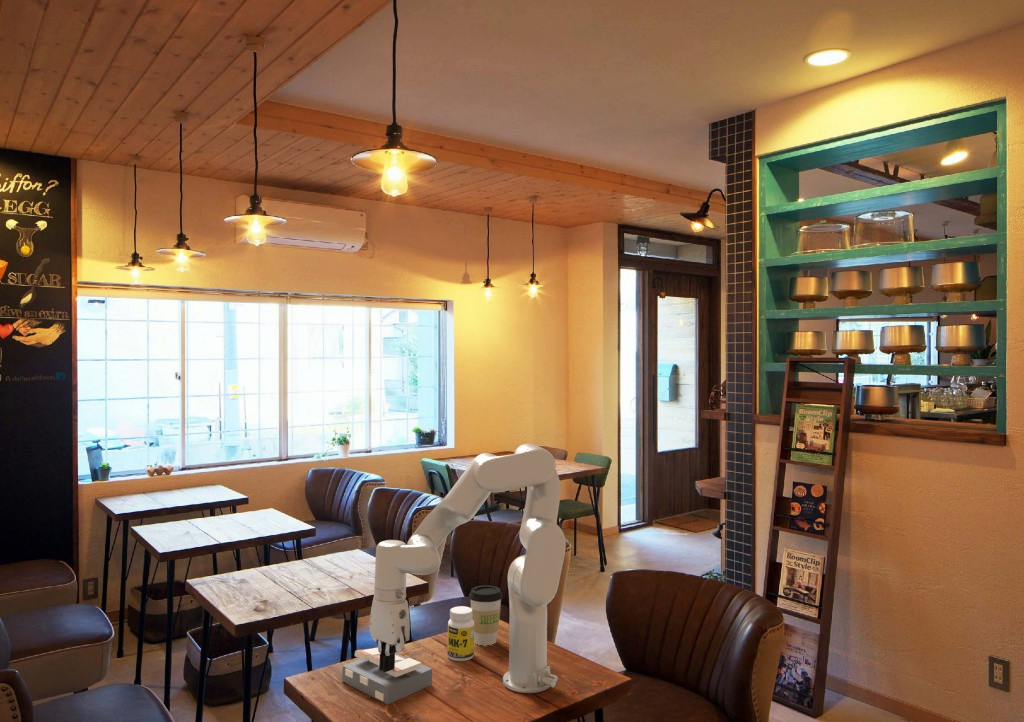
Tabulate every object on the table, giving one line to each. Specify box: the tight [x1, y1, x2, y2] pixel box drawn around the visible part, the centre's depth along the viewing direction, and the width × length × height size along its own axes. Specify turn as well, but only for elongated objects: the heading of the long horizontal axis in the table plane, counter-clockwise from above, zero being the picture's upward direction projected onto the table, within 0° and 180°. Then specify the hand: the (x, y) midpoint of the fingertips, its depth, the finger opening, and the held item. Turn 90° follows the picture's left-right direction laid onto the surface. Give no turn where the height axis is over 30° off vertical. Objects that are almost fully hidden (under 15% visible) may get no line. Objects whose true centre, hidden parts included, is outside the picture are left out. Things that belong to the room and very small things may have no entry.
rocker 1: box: [354, 647, 381, 661], centre depth 183 cm, size 4×8×1 cm, turn 139°
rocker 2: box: [370, 655, 405, 665], centre depth 179 cm, size 4×8×1 cm, turn 139°
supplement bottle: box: [446, 605, 475, 662], centre depth 195 cm, size 7×7×13 cm
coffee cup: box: [468, 584, 504, 647], centre depth 206 cm, size 10×10×15 cm
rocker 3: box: [385, 657, 422, 677], centre depth 175 cm, size 4×8×1 cm, turn 139°
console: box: [341, 653, 433, 705], centre depth 179 cm, size 18×14×5 cm
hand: (386, 669), depth 171 cm, fingers closed
